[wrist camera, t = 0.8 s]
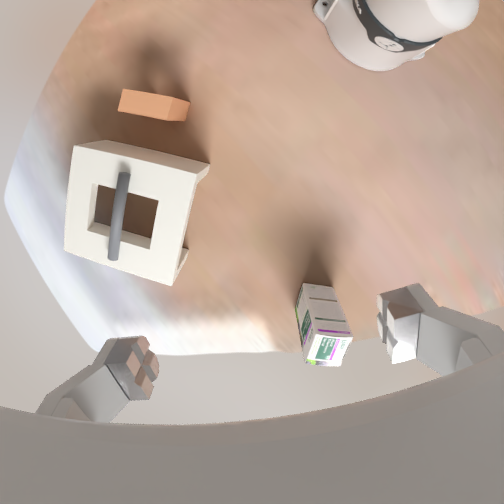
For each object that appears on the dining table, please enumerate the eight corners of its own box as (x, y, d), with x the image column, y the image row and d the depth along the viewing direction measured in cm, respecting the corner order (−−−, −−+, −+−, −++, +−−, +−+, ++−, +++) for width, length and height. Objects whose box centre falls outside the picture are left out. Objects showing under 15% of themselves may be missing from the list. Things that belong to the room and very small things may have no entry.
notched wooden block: (148, 94, 42) (123, 88, 33) (190, 102, 42) (173, 97, 34) (143, 112, 43) (117, 110, 34) (185, 121, 44) (166, 120, 35)
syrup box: (302, 281, 53) (313, 333, 40) (334, 286, 53) (354, 337, 40) (294, 309, 55) (302, 364, 42) (325, 313, 56) (341, 367, 42)
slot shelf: (106, 139, 45) (67, 146, 34) (210, 164, 46) (194, 176, 35) (93, 229, 51) (58, 254, 40) (187, 257, 52) (168, 291, 41)
